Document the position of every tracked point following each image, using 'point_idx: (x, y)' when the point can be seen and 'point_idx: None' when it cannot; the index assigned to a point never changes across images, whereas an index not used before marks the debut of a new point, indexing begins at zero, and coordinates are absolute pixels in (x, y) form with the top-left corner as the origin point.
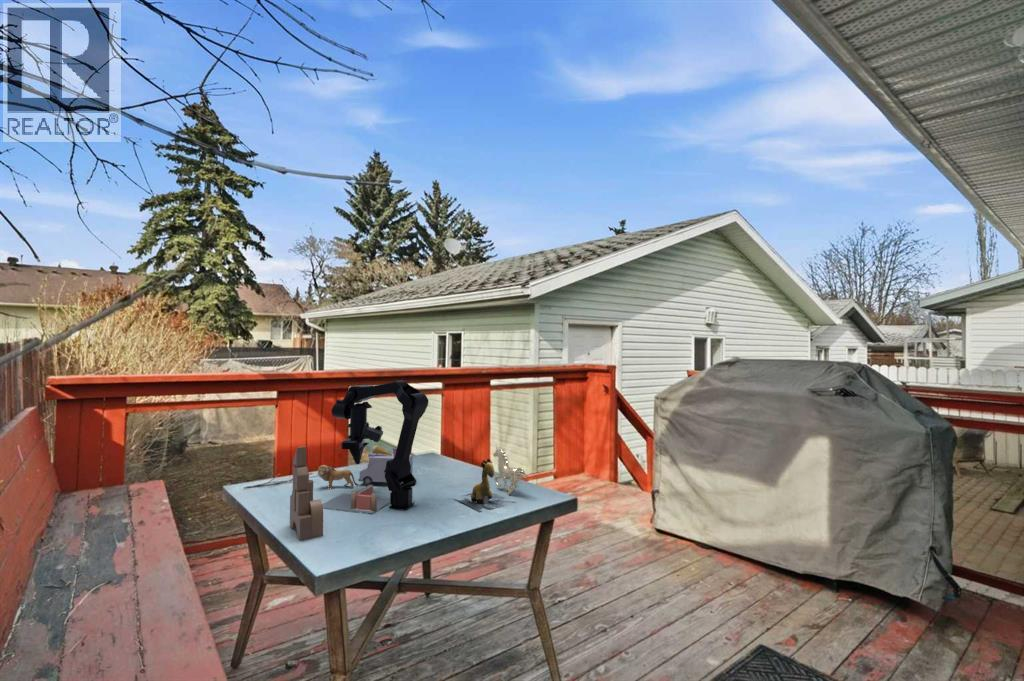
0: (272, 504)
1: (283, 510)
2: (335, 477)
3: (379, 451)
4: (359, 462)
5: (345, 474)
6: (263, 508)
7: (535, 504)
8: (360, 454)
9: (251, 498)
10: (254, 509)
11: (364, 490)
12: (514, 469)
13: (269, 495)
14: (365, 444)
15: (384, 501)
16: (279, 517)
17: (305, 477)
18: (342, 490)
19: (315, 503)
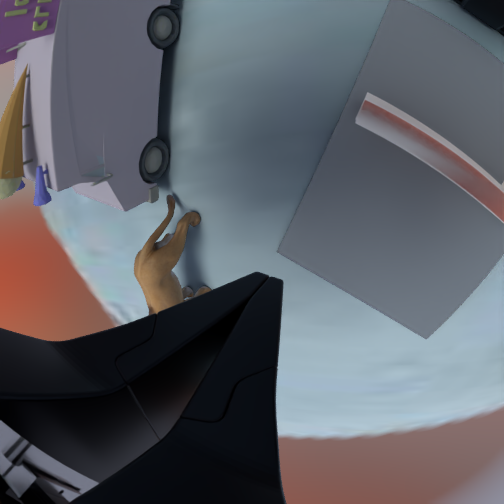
0: (339, 412)
1: (402, 399)
2: (179, 299)
3: (11, 148)
4: (270, 284)
5: (164, 271)
6: (364, 423)
7: None
8: (250, 372)
9: (282, 426)
10: (364, 431)
11: (467, 162)
12: None
13: None
14: (10, 422)
15: (435, 45)
16: (453, 401)
17: None
18: (225, 250)
19: None
